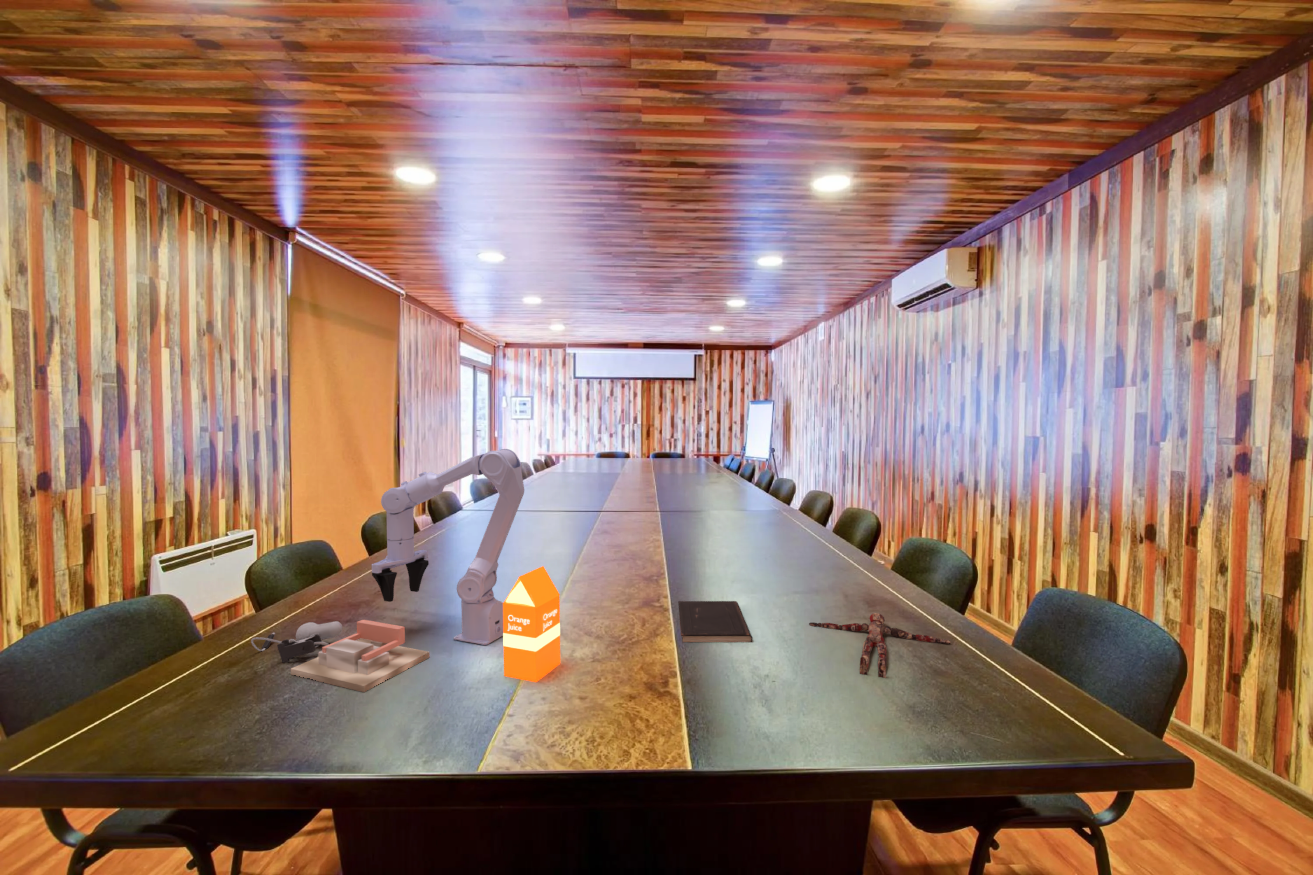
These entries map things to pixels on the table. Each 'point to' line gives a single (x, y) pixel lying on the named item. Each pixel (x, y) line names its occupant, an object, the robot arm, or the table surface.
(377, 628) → the u-shaped bracket
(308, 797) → the table surface
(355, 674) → the architectural building model
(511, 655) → the orange juice
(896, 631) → the mannequin
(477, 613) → the robot arm
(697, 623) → the hardcover book
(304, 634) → the clip-on lamp
